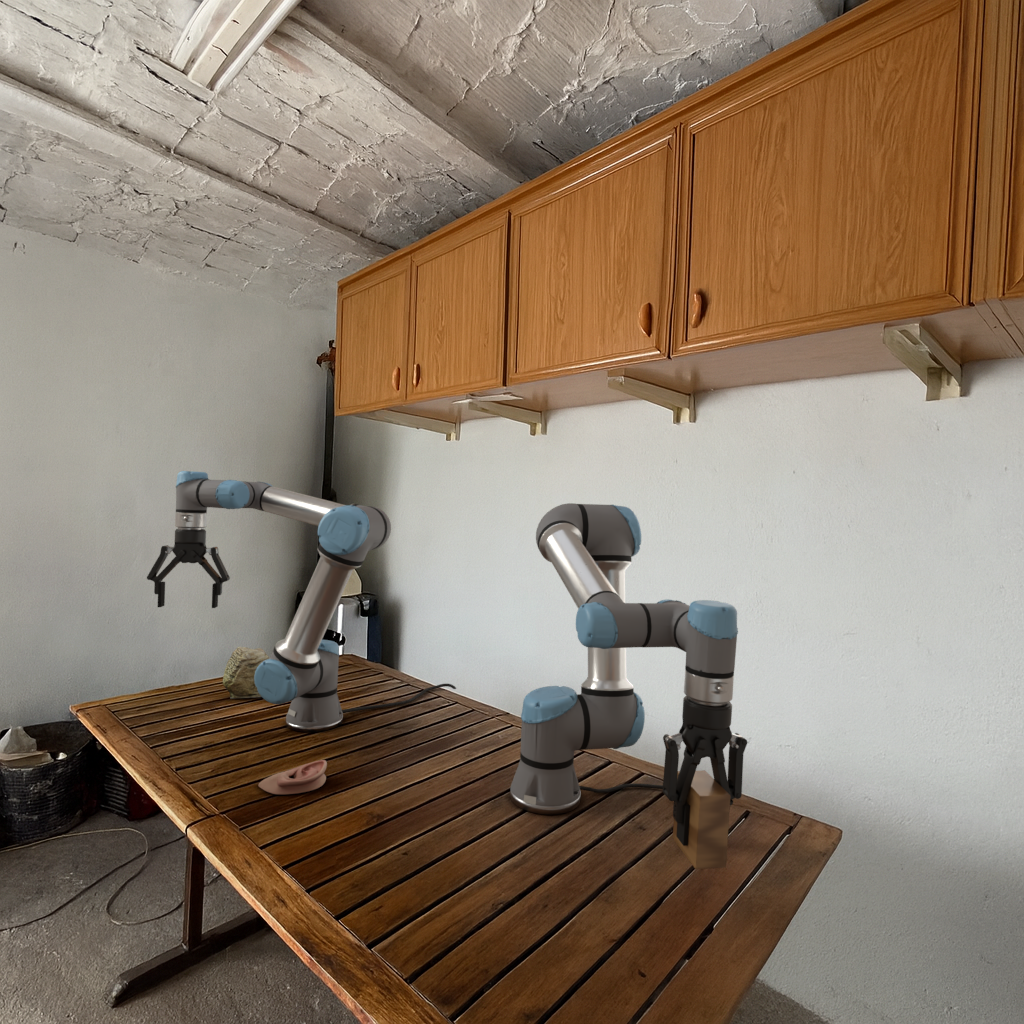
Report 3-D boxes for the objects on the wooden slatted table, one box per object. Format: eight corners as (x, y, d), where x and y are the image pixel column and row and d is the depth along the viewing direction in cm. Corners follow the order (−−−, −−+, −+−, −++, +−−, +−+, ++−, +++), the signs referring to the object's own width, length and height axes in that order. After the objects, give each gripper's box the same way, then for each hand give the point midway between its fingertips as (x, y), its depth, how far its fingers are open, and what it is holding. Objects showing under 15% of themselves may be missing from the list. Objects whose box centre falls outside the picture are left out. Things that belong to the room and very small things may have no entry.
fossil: (218, 695, 195) (220, 647, 195) (278, 685, 208) (279, 640, 207) (228, 703, 189) (230, 653, 188) (289, 692, 201) (290, 645, 201)
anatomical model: (250, 772, 134) (280, 751, 146) (249, 790, 135) (280, 768, 146) (307, 780, 132) (333, 759, 143) (306, 799, 132) (333, 776, 143)
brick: (695, 869, 98) (699, 796, 97) (672, 838, 106) (676, 770, 106) (726, 868, 99) (730, 795, 98) (700, 837, 107) (705, 770, 107)
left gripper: (134, 527, 165) (132, 608, 165) (235, 530, 169) (232, 610, 170) (146, 526, 173) (144, 603, 173) (243, 529, 177) (240, 605, 177)
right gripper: (663, 707, 96) (654, 856, 97) (773, 706, 99) (763, 851, 100) (645, 691, 104) (637, 829, 105) (747, 690, 107) (739, 825, 108)
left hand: (188, 607), depth 171 cm, fingers open, 13 cm apart
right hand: (699, 839), depth 103 cm, fingers closed on brick, 5 cm apart
